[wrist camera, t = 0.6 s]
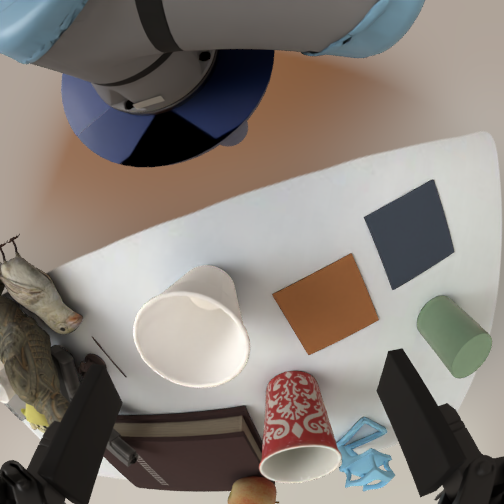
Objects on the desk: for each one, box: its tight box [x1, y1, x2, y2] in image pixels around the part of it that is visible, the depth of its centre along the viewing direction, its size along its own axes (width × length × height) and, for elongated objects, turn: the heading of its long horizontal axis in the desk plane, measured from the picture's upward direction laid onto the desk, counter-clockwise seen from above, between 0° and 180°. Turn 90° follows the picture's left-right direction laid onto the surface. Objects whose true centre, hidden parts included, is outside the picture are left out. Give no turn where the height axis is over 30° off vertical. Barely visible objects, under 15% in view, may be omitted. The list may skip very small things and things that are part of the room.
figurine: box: [78, 337, 126, 378], centre depth 36 cm, size 5×8×4 cm
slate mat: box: [364, 180, 454, 290], centre depth 31 cm, size 10×10×1 cm
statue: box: [0, 279, 70, 425], centre depth 29 cm, size 11×9×30 cm
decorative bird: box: [0, 236, 83, 334], centre depth 31 cm, size 5×16×7 cm
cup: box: [133, 265, 250, 388], centre depth 28 cm, size 10×10×11 cm
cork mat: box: [272, 254, 379, 355], centre depth 34 cm, size 10×10×1 cm
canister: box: [417, 296, 492, 378], centre depth 30 cm, size 6×6×10 cm
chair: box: [336, 417, 395, 491], centre depth 36 cm, size 8×8×12 cm
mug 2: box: [259, 371, 342, 483], centre depth 32 cm, size 13×9×14 cm
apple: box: [228, 476, 279, 504], centre depth 34 cm, size 8×8×8 cm
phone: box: [4, 393, 26, 421], centre depth 43 cm, size 8×16×1 cm, turn 128°
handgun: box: [51, 345, 138, 467], centre depth 34 cm, size 3×19×12 cm
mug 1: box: [0, 360, 15, 403], centre depth 34 cm, size 12×9×9 cm
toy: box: [21, 403, 49, 433], centre depth 39 cm, size 13×7×15 cm
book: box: [104, 406, 275, 491], centre depth 40 cm, size 28×20×6 cm
